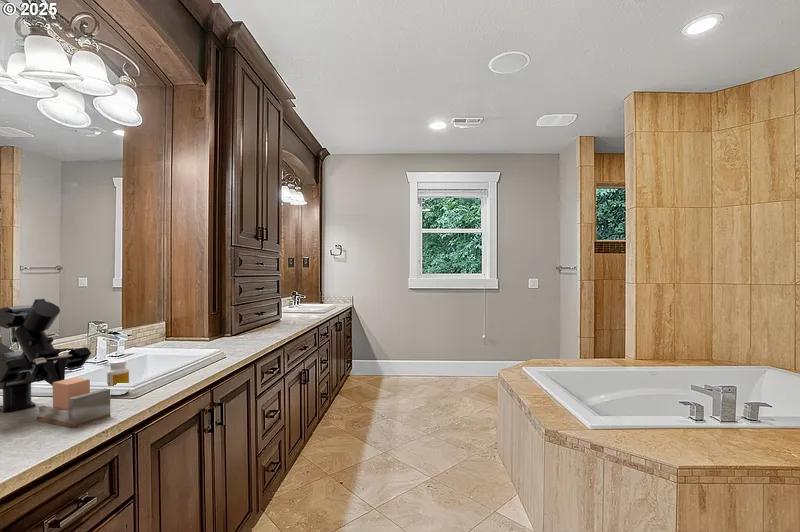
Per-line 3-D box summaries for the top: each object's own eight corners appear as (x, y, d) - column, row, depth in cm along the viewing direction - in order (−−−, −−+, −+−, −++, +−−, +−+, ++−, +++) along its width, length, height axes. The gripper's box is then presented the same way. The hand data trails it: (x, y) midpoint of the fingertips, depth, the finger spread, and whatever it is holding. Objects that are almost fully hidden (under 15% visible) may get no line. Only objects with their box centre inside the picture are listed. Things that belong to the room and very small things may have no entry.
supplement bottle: (133, 391, 127) (133, 359, 127) (119, 396, 121) (119, 363, 121) (117, 391, 127) (116, 359, 127) (102, 396, 122) (102, 363, 122)
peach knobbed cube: (51, 412, 103) (51, 382, 103) (73, 406, 108) (73, 377, 108) (68, 415, 101) (67, 384, 101) (90, 408, 106) (89, 379, 106)
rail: (36, 420, 103) (36, 393, 103) (74, 409, 111) (73, 384, 111) (74, 428, 97) (73, 399, 97) (110, 416, 105) (110, 389, 105)
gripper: (61, 356, 121) (86, 397, 116) (-23, 371, 103) (3, 420, 99) (78, 330, 118) (105, 371, 114) (-6, 341, 100) (22, 390, 96)
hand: (61, 388), depth 106 cm, fingers closed, pressing on peach knobbed cube
